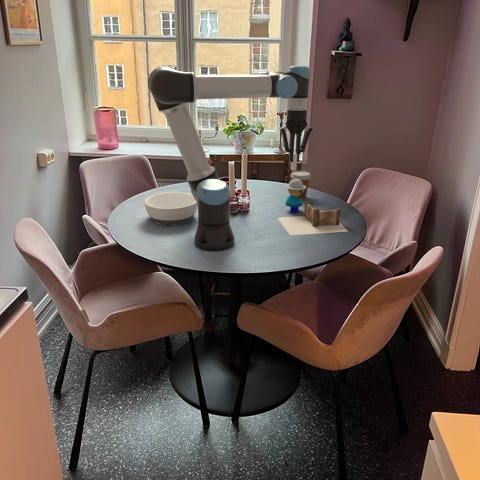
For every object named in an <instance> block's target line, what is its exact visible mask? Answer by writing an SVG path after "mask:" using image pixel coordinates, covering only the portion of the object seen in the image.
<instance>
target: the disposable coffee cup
mask: <svg viewBox="0 0 480 480" xmlns="http://www.w3.org/2000/svg"><path fill="white" fill-rule="evenodd" d="M311 177H312V176H311V174H310V172H308V171H306V170H296V171H292V172H291V174H290V181H291V180H293V179H299V180H301V181H302V183H303V185H304V186H306V188H305V189H304V195H303V193H302V194H301V195H300V196H299V197H300V199H301V200H304V199H305V200H306V198H307V193H308V189H309V183H310V178H311ZM302 198H303V199H302Z"/></svg>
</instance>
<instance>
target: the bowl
mask: <svg viewBox="0 0 480 480" xmlns="http://www.w3.org/2000/svg"><path fill="white" fill-rule="evenodd" d="M143 202H144V207H145V210H146V213H147V215H148V216H149V218H150V219H151V220H152V221H154V222H153V223H155V222H156V223H155V224H157V223H159V224H158V225H160V224H165V225H164V226H175V225H174V224H180V225H183V224H182V223H184V224H186V223H185V222H187V223H189V222H190V221H192V219H194V216H195V214H196V212H197V210H198V205H197V203H196V200H195V198H194V197H193V195H192V193H188V192H184V191H183V192H181V191H168V192H159V193H155V194H153V195H149V196H148V197H146V198H145V199H144V201H143ZM188 221H189V222H188Z"/></svg>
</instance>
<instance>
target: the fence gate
mask: <svg viewBox="0 0 480 480" xmlns="http://www.w3.org/2000/svg"><path fill="white" fill-rule="evenodd" d="M313 209H314V207H313V206H312V205H311V204H310V201H307V200H306V201H305V202H304V213H303V216H305V217H306V218H307V219H308V220H309V221H310V222H311V223H313Z"/></svg>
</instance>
